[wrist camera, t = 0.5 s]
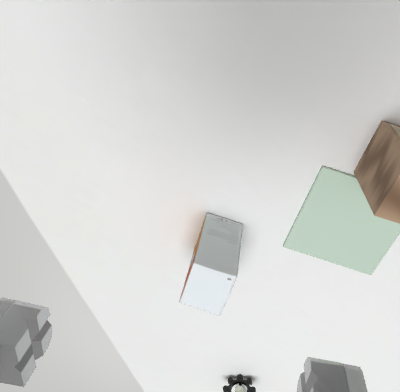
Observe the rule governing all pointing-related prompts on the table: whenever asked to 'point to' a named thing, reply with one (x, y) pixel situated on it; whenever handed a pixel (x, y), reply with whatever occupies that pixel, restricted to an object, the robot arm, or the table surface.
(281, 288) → the table surface
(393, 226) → the green glass pane
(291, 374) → the table surface
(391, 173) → the walnut block
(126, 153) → the table surface
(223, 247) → the small box
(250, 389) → the valve
